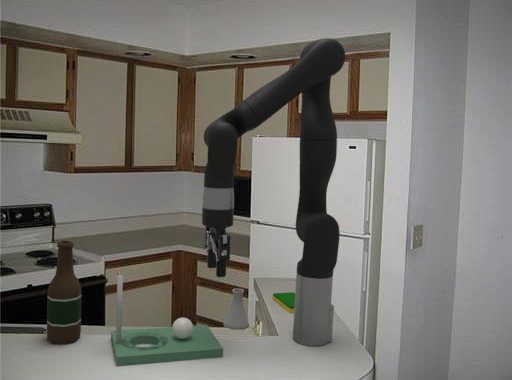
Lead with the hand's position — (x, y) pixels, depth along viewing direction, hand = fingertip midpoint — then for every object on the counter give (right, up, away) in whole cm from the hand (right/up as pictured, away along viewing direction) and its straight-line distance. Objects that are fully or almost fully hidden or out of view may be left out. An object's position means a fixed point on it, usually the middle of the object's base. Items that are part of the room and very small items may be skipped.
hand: (216, 272), depth 136 cm
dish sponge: (+20, -16, +36) cm, 44 cm away
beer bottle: (-37, -16, 0) cm, 41 cm away
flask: (+4, -17, +15) cm, 23 cm away
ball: (-8, -13, -1) cm, 16 cm away
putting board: (-12, -18, -2) cm, 21 cm away
